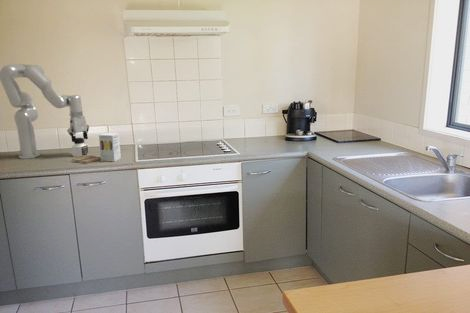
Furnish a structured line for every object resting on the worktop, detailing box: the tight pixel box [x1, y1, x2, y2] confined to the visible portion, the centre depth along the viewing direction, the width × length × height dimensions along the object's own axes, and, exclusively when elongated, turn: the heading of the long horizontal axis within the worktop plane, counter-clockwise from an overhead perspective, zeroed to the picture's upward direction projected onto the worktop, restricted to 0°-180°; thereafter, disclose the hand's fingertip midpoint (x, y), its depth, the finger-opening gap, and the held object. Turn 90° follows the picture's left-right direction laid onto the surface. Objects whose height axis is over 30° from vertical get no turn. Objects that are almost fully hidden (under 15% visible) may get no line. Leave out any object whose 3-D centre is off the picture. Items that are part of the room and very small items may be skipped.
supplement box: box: [98, 132, 122, 163], centre depth 259 cm, size 10×9×17 cm
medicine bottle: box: [71, 137, 89, 158], centre depth 272 cm, size 7×7×12 cm
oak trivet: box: [71, 154, 101, 164], centre depth 260 cm, size 12×12×2 cm
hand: (80, 140), depth 271 cm, fingers open, 9 cm apart
